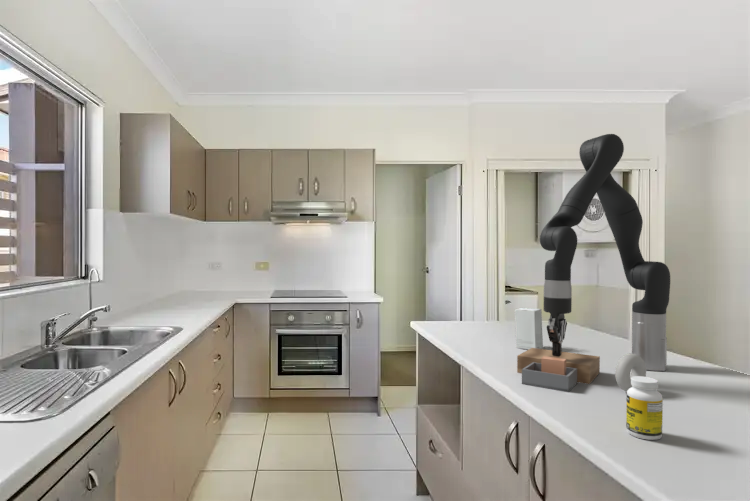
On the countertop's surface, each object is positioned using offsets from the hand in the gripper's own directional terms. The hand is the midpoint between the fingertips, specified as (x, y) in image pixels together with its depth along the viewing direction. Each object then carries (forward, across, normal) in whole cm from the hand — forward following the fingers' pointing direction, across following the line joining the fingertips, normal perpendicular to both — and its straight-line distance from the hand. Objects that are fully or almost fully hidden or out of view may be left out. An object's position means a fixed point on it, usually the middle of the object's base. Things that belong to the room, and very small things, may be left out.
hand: (556, 355), depth 133 cm
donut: (+6, -3, -19) cm, 20 cm away
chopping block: (+6, +5, +1) cm, 8 cm away
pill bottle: (+6, -33, -25) cm, 42 cm away
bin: (+6, -8, 0) cm, 10 cm away
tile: (+2, -5, -1) cm, 6 cm away
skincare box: (+6, +34, +19) cm, 39 cm away
